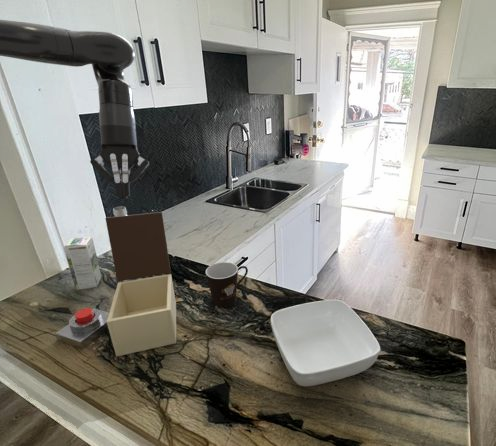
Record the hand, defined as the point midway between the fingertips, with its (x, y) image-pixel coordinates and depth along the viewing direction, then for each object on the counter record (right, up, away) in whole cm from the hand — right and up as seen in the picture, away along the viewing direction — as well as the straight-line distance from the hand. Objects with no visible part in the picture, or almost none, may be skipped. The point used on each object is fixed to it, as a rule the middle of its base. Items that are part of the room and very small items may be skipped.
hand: (123, 198), depth 77 cm
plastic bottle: (-14, -20, +30) cm, 39 cm away
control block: (-9, -33, 0) cm, 34 cm away
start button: (-9, -29, -1) cm, 31 cm away
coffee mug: (+24, -28, +12) cm, 39 cm away
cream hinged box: (+6, -32, +1) cm, 33 cm away
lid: (+3, -12, +2) cm, 13 cm away
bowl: (+48, -36, -6) cm, 61 cm away
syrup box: (-21, -25, +19) cm, 37 cm away
